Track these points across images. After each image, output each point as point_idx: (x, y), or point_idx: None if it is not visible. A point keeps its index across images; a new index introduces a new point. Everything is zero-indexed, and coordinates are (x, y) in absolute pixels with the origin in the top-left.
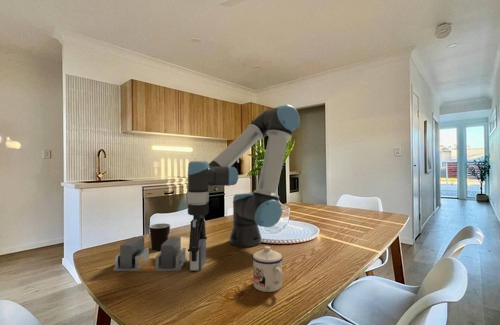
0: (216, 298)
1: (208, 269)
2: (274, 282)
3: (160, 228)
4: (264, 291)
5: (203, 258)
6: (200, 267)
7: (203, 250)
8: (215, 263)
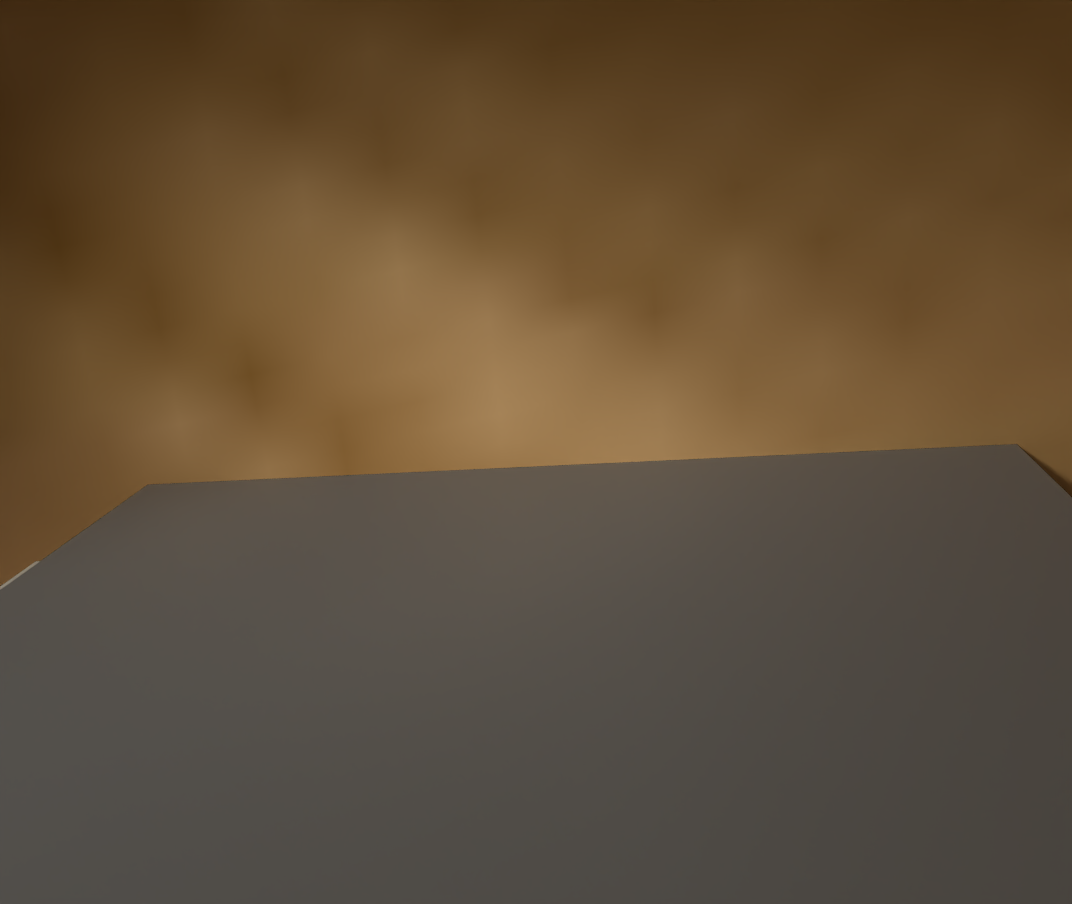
0: None
1: (936, 214)
2: None
3: None
4: None
5: (546, 550)
6: (1049, 493)
7: (497, 738)
8: (402, 86)
